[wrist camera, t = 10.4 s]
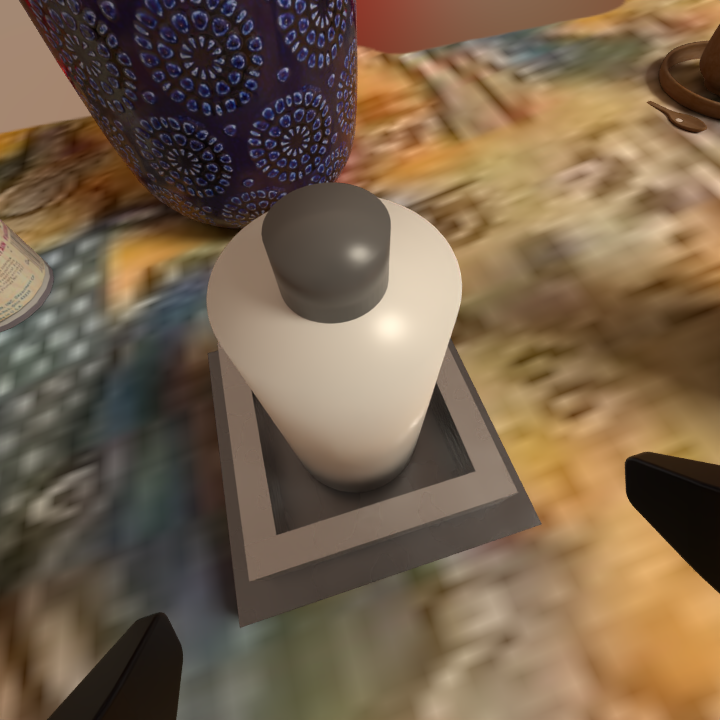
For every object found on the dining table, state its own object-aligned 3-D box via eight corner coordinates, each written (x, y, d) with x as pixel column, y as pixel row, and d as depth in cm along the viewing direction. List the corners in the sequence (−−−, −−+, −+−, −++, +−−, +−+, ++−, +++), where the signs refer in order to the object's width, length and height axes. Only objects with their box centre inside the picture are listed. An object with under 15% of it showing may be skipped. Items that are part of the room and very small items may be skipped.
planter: (130, 162, 32) (-36, -114, 19) (305, 101, 36) (265, -167, 23) (191, 294, 25) (-8, -2, 12) (403, 202, 29) (424, -106, 16)
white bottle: (382, 517, 17) (395, 415, 6) (270, 453, 18) (108, 276, 7) (436, 404, 19) (518, 179, 8) (333, 356, 21) (285, 112, 10)
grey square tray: (529, 527, 18) (567, 517, 14) (250, 623, 16) (216, 637, 13) (426, 309, 24) (434, 264, 20) (217, 365, 22) (188, 328, 19)
